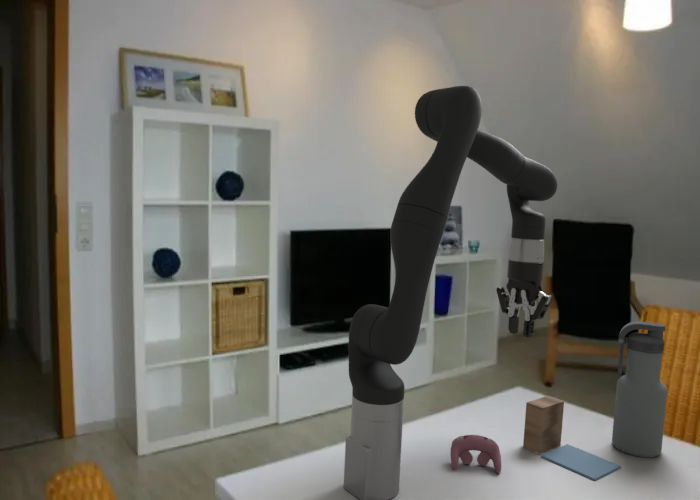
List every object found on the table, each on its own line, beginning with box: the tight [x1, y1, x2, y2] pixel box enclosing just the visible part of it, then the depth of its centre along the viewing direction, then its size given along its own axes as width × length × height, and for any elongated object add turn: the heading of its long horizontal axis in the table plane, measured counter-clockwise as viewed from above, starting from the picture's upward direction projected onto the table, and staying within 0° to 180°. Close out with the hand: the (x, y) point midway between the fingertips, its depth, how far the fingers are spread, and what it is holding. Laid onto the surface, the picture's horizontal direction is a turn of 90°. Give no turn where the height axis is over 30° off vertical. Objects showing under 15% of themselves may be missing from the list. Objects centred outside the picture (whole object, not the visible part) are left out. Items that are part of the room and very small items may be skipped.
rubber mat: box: [540, 443, 622, 482], centre depth 117 cm, size 10×12×1 cm
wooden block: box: [522, 395, 565, 455], centre depth 124 cm, size 8×4×10 cm, turn 128°
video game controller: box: [450, 434, 502, 475], centre depth 114 cm, size 10×5×7 cm, turn 84°
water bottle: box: [611, 320, 668, 458], centre depth 124 cm, size 10×10×28 cm
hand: (520, 334), depth 128 cm, fingers open, 3 cm apart
